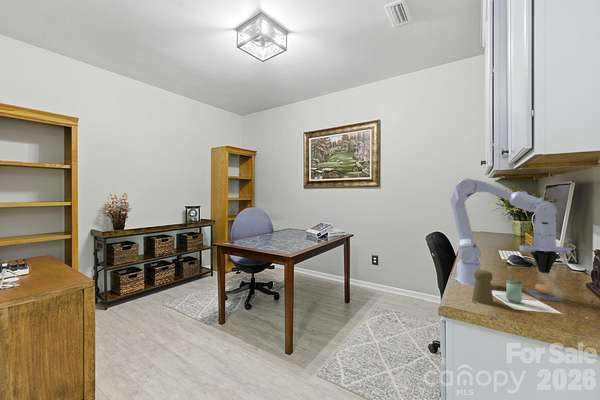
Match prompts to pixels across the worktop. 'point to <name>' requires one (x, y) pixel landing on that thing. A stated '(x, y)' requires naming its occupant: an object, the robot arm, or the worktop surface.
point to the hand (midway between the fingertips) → (543, 272)
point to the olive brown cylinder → (482, 287)
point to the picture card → (525, 303)
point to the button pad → (544, 296)
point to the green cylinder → (514, 291)
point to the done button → (543, 288)
